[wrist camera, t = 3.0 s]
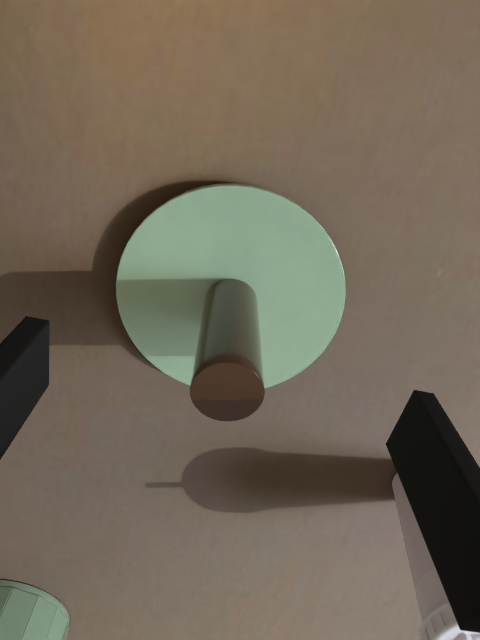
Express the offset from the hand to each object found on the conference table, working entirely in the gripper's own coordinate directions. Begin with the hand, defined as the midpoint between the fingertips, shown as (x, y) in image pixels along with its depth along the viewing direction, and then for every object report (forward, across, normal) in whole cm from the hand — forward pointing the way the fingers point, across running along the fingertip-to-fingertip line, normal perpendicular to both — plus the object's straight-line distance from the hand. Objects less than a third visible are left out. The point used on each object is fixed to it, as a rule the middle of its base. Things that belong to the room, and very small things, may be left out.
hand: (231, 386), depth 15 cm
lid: (+7, 0, 0) cm, 7 cm away
